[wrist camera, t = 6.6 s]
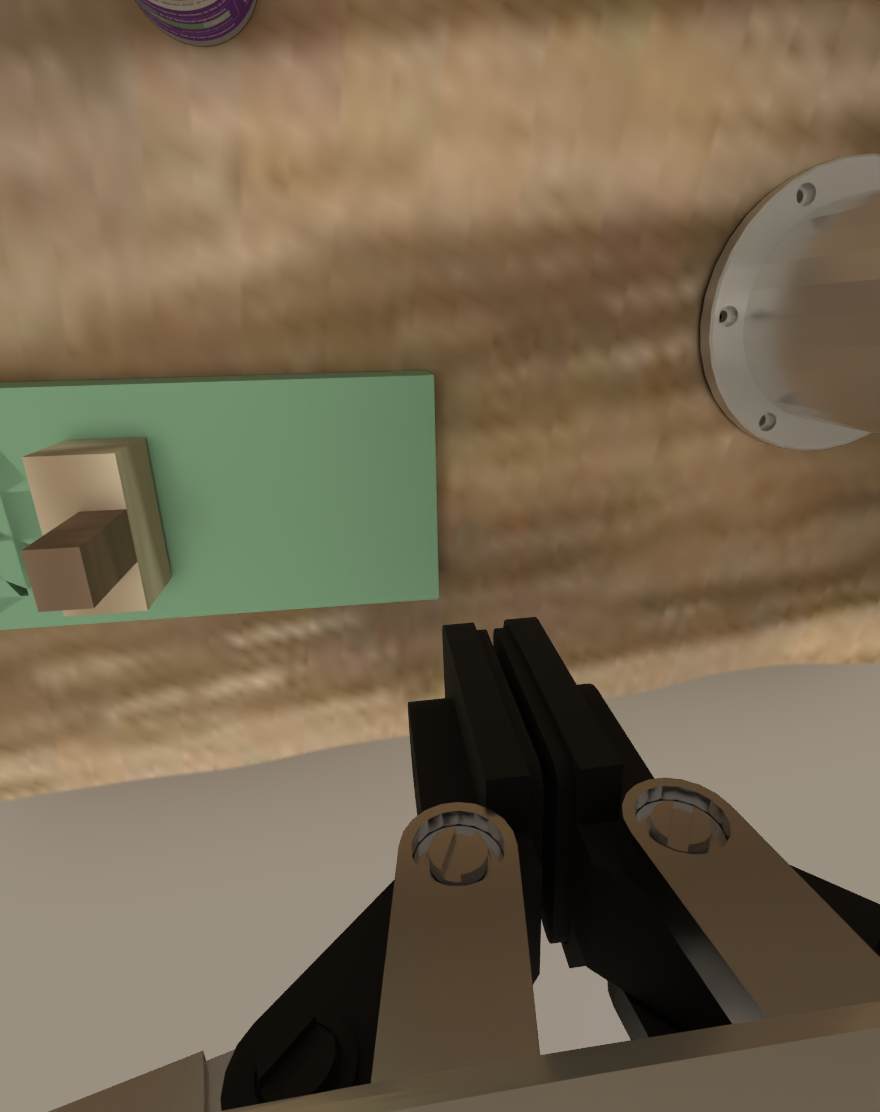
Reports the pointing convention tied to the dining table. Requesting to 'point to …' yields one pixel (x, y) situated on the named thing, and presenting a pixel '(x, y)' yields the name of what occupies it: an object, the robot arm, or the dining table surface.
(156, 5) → the container
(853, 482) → the dining table surface
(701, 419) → the dining table surface
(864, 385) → the robot arm
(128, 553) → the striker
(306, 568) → the putting green
